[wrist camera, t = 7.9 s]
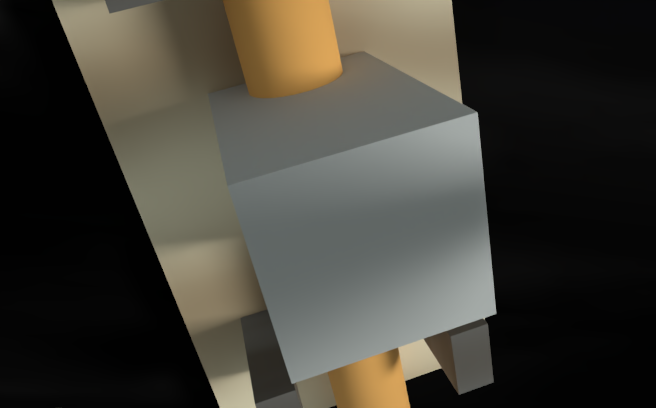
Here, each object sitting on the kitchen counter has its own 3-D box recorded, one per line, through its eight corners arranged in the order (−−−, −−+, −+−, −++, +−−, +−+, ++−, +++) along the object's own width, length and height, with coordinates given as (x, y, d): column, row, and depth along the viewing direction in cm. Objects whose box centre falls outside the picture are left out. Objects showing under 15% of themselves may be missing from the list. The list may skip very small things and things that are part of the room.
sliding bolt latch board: (474, 334, 20) (547, 428, 16) (231, 418, 19) (245, 541, 15) (367, -584, 10) (486, -921, 6) (-150, -522, 9) (-400, -883, 5)
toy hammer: (425, 395, 19) (519, 563, 14) (315, 434, 19) (369, 623, 14) (273, -450, 10) (382, -901, 5) (47, -415, 10) (-120, -882, 4)
